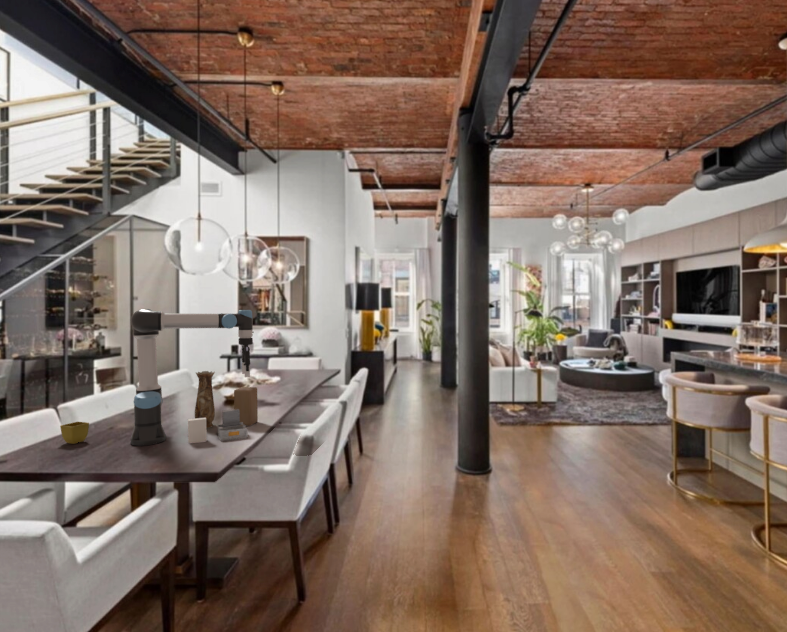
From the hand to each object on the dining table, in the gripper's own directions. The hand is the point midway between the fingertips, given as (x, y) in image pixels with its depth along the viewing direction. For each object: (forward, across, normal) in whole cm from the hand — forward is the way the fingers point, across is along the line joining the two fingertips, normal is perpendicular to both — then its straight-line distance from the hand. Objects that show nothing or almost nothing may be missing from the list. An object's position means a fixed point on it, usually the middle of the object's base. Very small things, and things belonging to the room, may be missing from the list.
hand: (245, 375), depth 256 cm
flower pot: (+28, -1, +80) cm, 85 cm away
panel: (+27, -25, +25) cm, 45 cm away
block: (+28, 0, 0) cm, 28 cm away
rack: (+27, -21, +9) cm, 36 cm away
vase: (+28, +5, +21) cm, 35 cm away
